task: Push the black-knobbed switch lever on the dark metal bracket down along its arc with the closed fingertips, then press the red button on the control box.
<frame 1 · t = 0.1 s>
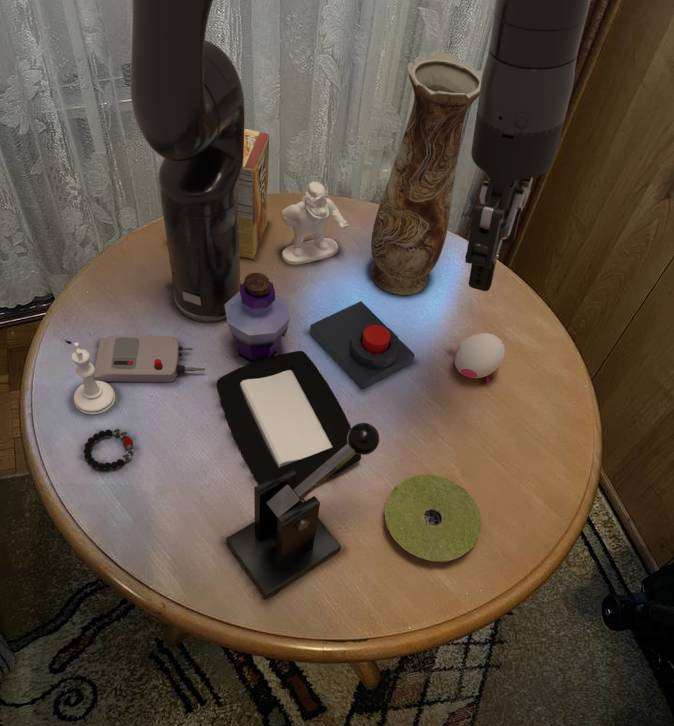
hand: (491, 263, 69), 22 cm above the table, tool pointing down, fingers open, 8 cm apart
candy box: (249, 240, 101), on the table
switch lever: (325, 470, 65), point 12 cm above the table, hinge at 25.0°
red button: (376, 339, 87), point 4 cm above the table, slide at 0.1 cm
stress ball: (470, 367, 91), on the table
remote control: (145, 363, 86), on the table
mat: (429, 524, 77), on the table
potion bottle: (257, 349, 89), on the table
figurine: (311, 255, 101), on the table
vase: (399, 275, 100), on the table
control box: (360, 347, 91), on the table
switch bracket: (283, 547, 73), on the table
chess piece: (95, 399, 82), on the table
light switch: (286, 424, 83), on the table
bracelet: (109, 452, 78), on the table
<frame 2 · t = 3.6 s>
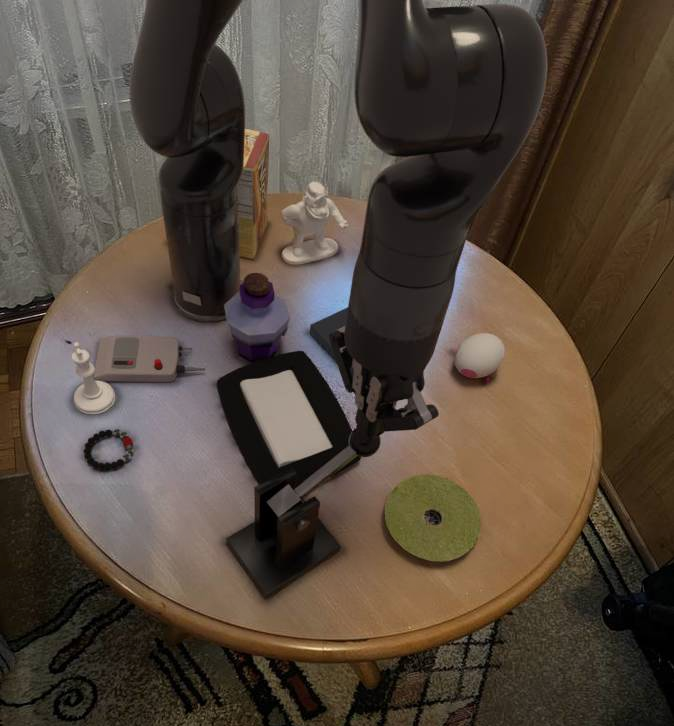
hand: (368, 431, 64), 15 cm above the table, tool pointing down, fingers closed
switch lever: (326, 471, 65), point 12 cm above the table, hinge at 20.8°
everything else where it was.
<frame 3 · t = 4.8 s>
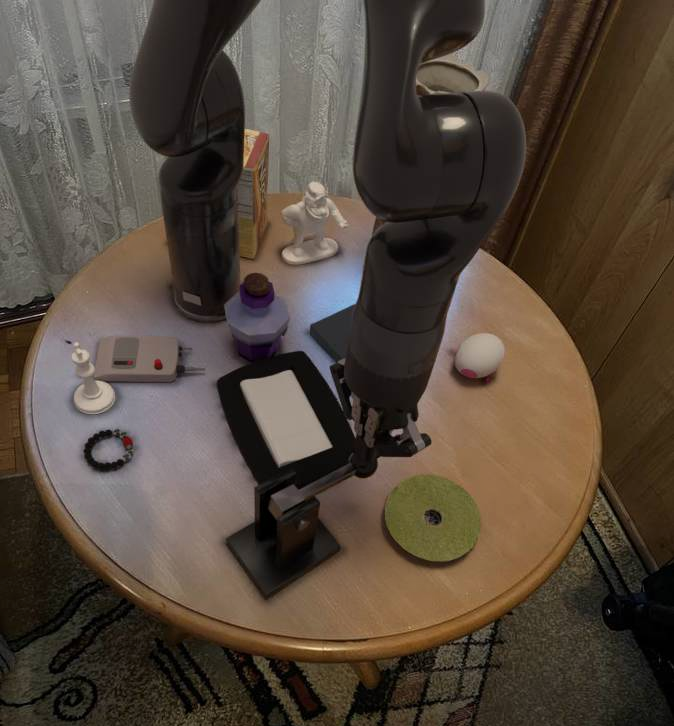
hand: (366, 455, 68), 10 cm above the table, tool pointing down, fingers closed
switch lever: (327, 482, 67), point 9 cm above the table, hinge at -6.7°, touching gripper
everything else where it was.
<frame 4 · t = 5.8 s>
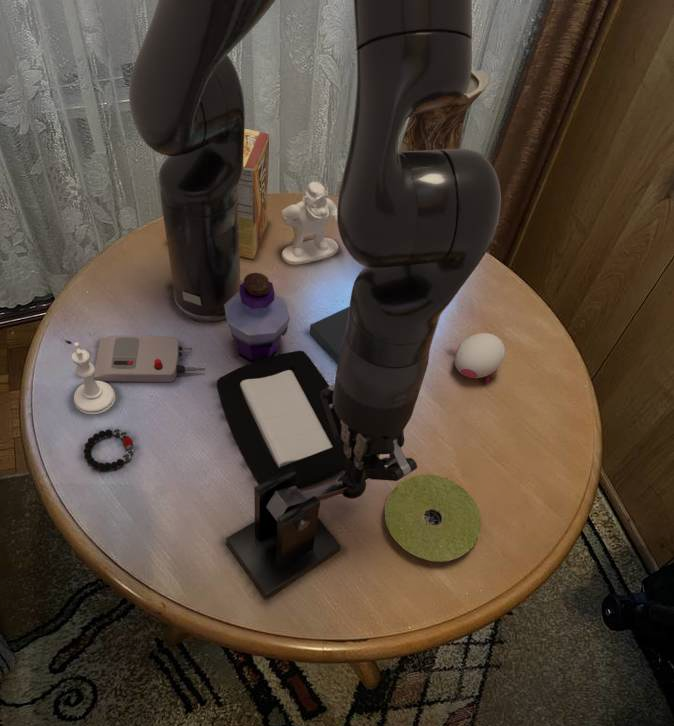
hand: (355, 475, 71), 7 cm above the table, tool pointing down, fingers closed
switch lever: (321, 493, 68), point 8 cm above the table, hinge at -27.0°, touching gripper
everything else where it was.
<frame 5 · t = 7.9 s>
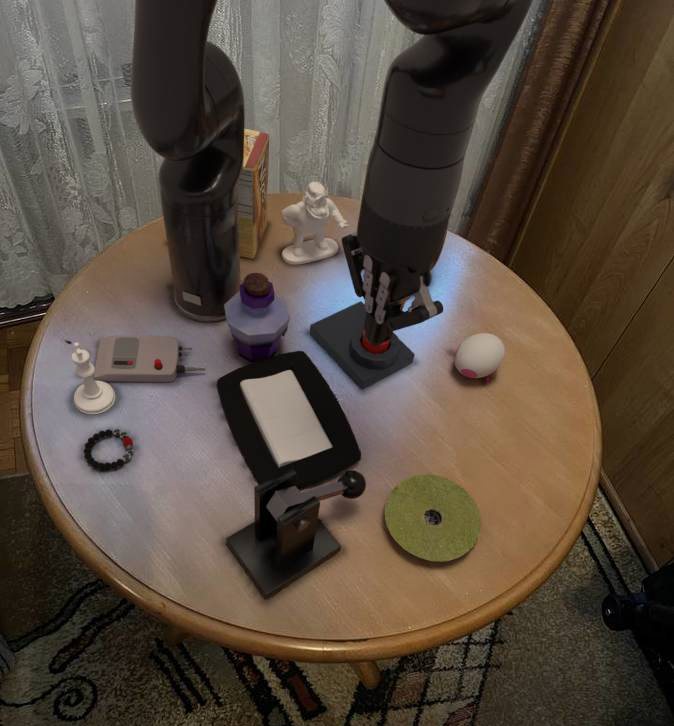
hand: (375, 339, 68), 18 cm above the table, tool pointing down, fingers closed
switch lever: (321, 493, 68), point 8 cm above the table, hinge at -27.3°
everything else where it was.
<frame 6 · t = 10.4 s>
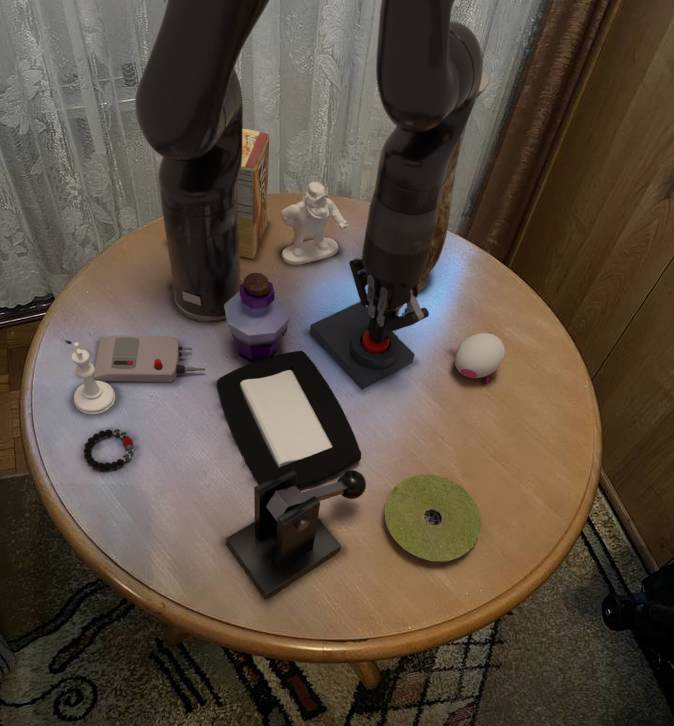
hand: (377, 338, 86), 4 cm above the table, tool pointing down, fingers closed
red button: (375, 343, 87), point 3 cm above the table, slide at -0.6 cm, touching gripper
everything else where it was.
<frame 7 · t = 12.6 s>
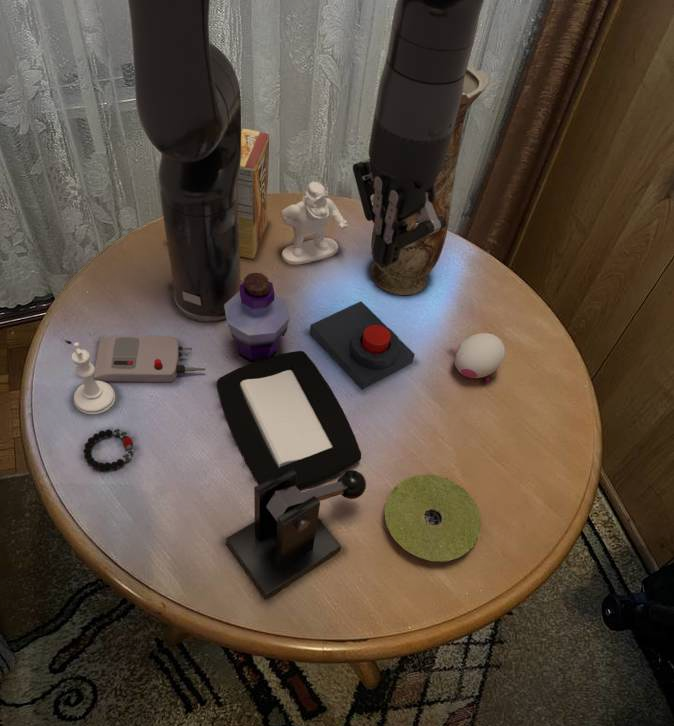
hand: (383, 262, 74), 18 cm above the table, tool pointing down, fingers closed
red button: (376, 339, 87), point 4 cm above the table, slide at 0.1 cm
everything else where it was.
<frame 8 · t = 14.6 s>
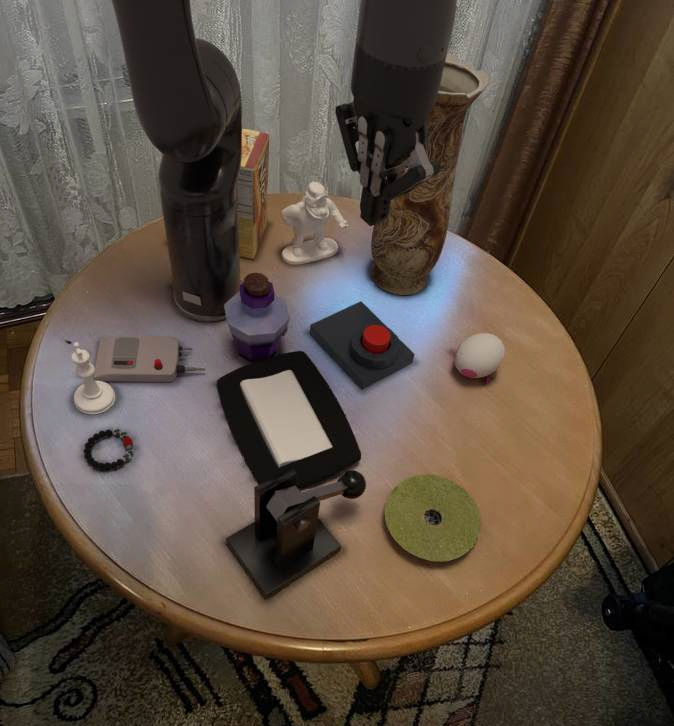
hand: (372, 219, 67), 25 cm above the table, tool pointing down, fingers closed
nothing on the table moved.
at the end: switch lever at -27° (first picture: +25°); red button pushed in 1.1 cm at the most during the clip, back to where it started at the end; red button slide at 0.1 cm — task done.
